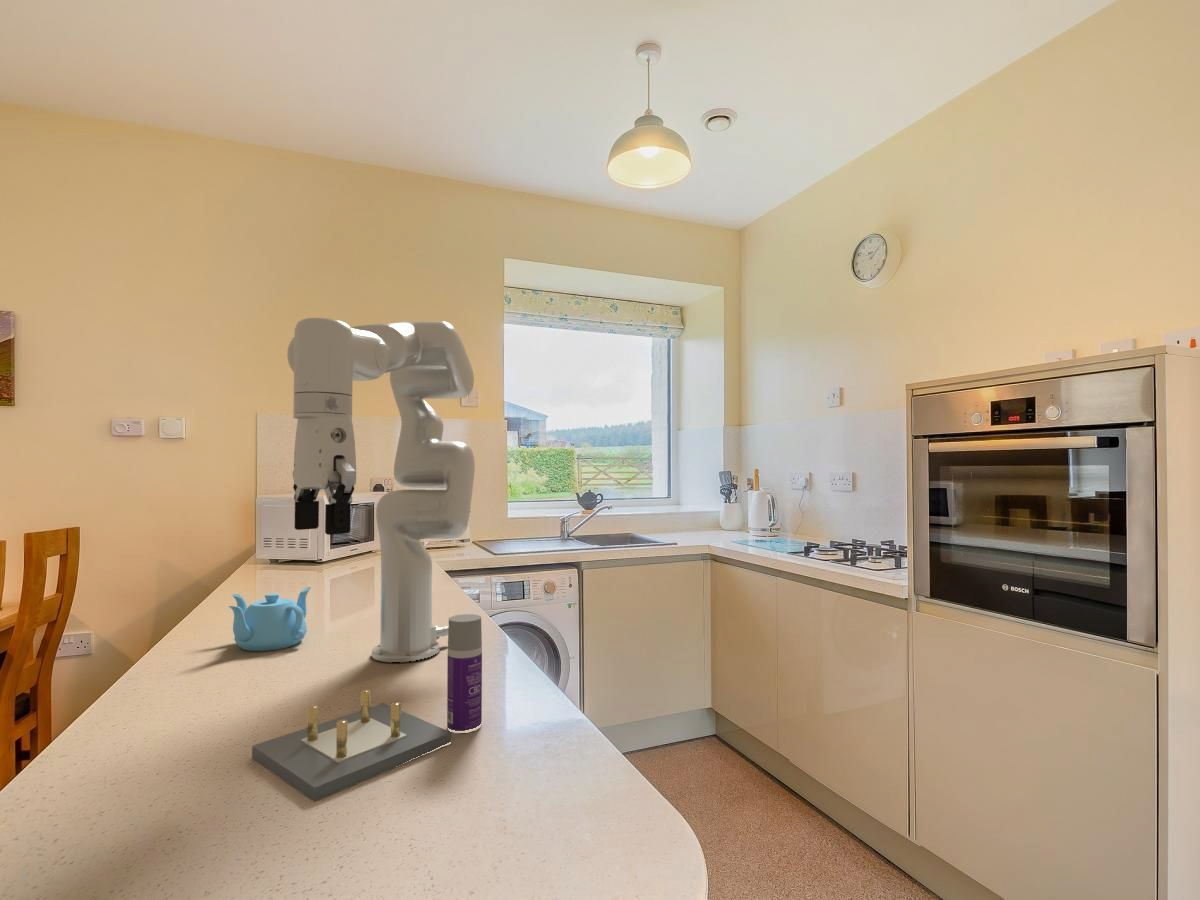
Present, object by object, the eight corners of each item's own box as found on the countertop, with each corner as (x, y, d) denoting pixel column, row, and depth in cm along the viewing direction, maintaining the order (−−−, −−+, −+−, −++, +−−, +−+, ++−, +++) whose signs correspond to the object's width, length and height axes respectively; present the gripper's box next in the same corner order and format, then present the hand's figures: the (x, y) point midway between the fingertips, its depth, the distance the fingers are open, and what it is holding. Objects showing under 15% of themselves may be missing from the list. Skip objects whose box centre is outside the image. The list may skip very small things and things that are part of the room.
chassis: (383, 713, 90) (383, 701, 91) (451, 744, 80) (451, 730, 80) (251, 757, 77) (252, 744, 77) (314, 801, 66) (314, 785, 66)
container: (473, 735, 83) (474, 622, 83) (441, 732, 84) (441, 621, 84) (486, 721, 88) (487, 614, 88) (455, 718, 89) (456, 613, 89)
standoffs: (367, 718, 84) (367, 688, 85) (402, 735, 79) (402, 703, 79) (305, 739, 78) (305, 707, 78) (339, 759, 73) (339, 724, 73)
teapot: (309, 650, 122) (310, 598, 123) (221, 659, 116) (222, 604, 116) (310, 632, 136) (311, 585, 136) (230, 640, 129) (232, 590, 130)
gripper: (379, 406, 84) (378, 533, 83) (322, 414, 95) (321, 525, 95) (323, 402, 78) (322, 538, 77) (270, 410, 90) (268, 529, 89)
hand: (321, 531), depth 86 cm, fingers open, 9 cm apart
